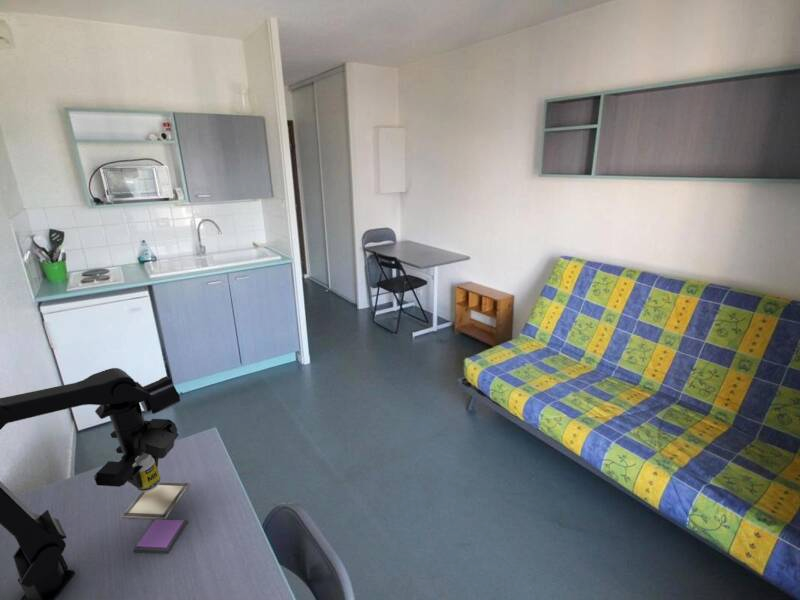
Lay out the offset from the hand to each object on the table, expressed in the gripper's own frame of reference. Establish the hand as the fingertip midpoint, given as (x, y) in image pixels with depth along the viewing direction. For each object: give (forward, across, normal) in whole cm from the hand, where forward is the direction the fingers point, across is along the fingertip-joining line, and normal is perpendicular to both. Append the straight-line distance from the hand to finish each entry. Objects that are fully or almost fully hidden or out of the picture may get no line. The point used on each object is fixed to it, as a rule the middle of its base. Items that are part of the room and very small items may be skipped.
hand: (147, 479), depth 98 cm
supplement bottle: (+2, 0, 0) cm, 2 cm away
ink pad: (+12, -5, -4) cm, 13 cm away
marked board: (+12, +5, +4) cm, 14 cm away
